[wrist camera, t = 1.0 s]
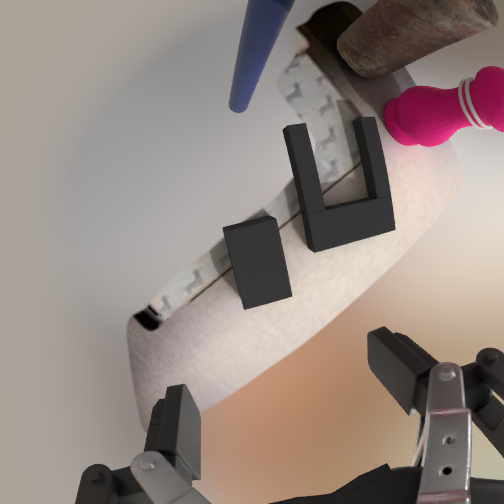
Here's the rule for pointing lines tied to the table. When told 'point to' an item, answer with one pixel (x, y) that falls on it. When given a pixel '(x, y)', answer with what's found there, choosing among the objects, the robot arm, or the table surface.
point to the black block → (258, 261)
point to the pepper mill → (447, 109)
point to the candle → (410, 32)
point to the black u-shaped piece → (346, 214)
